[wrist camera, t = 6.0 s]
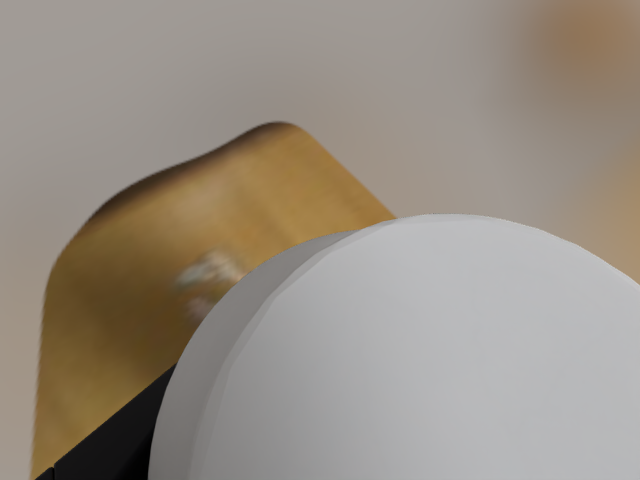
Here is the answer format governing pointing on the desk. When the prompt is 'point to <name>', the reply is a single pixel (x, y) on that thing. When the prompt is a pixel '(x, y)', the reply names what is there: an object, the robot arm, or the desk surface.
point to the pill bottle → (412, 362)
